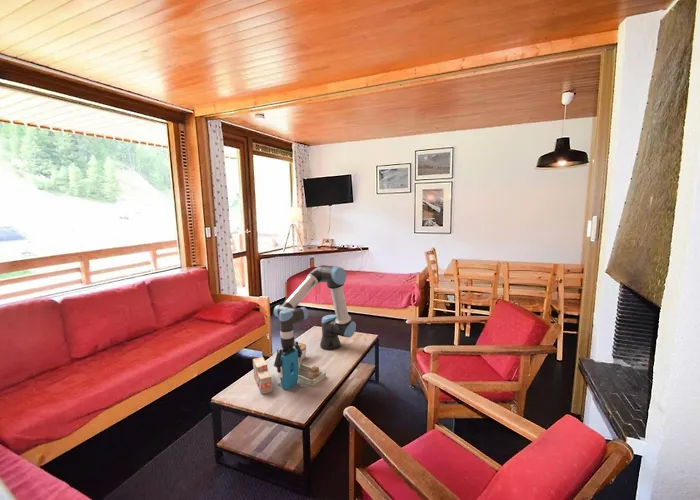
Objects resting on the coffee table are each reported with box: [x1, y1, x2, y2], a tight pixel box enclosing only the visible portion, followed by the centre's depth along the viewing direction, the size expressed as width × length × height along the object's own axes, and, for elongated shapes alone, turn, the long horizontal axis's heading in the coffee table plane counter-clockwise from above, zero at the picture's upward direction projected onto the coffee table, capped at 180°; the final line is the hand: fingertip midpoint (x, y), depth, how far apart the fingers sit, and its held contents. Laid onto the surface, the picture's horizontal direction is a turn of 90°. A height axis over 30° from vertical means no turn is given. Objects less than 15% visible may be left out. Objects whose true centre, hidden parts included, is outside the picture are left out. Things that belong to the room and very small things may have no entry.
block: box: [279, 348, 300, 391], centre depth 186 cm, size 12×5×20 cm, turn 149°
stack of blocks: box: [252, 356, 273, 395], centre depth 189 cm, size 21×6×12 cm, turn 27°
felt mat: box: [277, 381, 304, 393], centre depth 187 cm, size 7×14×1 cm, turn 53°
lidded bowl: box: [294, 342, 307, 360], centre depth 220 cm, size 13×13×11 cm
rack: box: [293, 344, 327, 387], centre depth 196 cm, size 12×22×16 cm, turn 53°
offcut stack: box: [307, 365, 320, 380], centre depth 193 cm, size 6×4×8 cm
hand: (289, 372), depth 186 cm, fingers open, 12 cm apart
